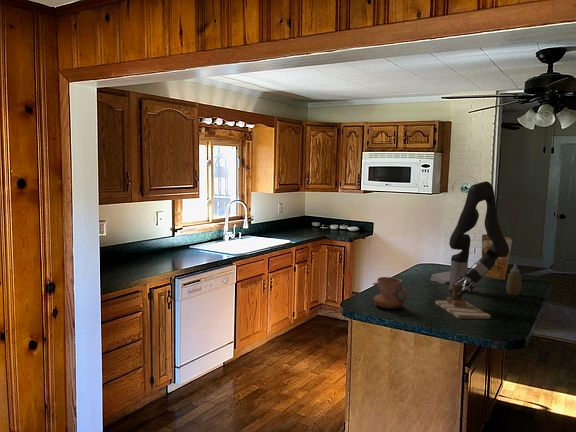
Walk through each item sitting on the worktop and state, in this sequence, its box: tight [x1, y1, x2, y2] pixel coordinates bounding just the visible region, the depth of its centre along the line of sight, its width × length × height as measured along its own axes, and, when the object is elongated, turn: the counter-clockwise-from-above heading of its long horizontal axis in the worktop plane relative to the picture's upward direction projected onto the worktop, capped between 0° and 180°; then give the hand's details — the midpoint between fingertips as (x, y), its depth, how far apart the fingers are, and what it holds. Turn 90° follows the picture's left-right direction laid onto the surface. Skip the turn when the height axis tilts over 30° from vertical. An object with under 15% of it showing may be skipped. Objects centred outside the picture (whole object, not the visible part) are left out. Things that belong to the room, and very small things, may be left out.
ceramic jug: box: [372, 276, 409, 310], centre depth 246 cm, size 18×14×14 cm
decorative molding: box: [430, 270, 451, 285], centre depth 316 cm, size 34×5×10 cm
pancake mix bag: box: [481, 233, 513, 281], centre depth 324 cm, size 7×19×28 cm, turn 47°
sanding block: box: [445, 284, 467, 307], centre depth 251 cm, size 9×6×10 cm, turn 8°
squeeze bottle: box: [505, 262, 522, 296], centre depth 281 cm, size 8×8×18 cm
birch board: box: [434, 299, 492, 320], centre depth 246 cm, size 26×16×2 cm, turn 8°
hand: (454, 294), depth 251 cm, fingers open, 7 cm apart
